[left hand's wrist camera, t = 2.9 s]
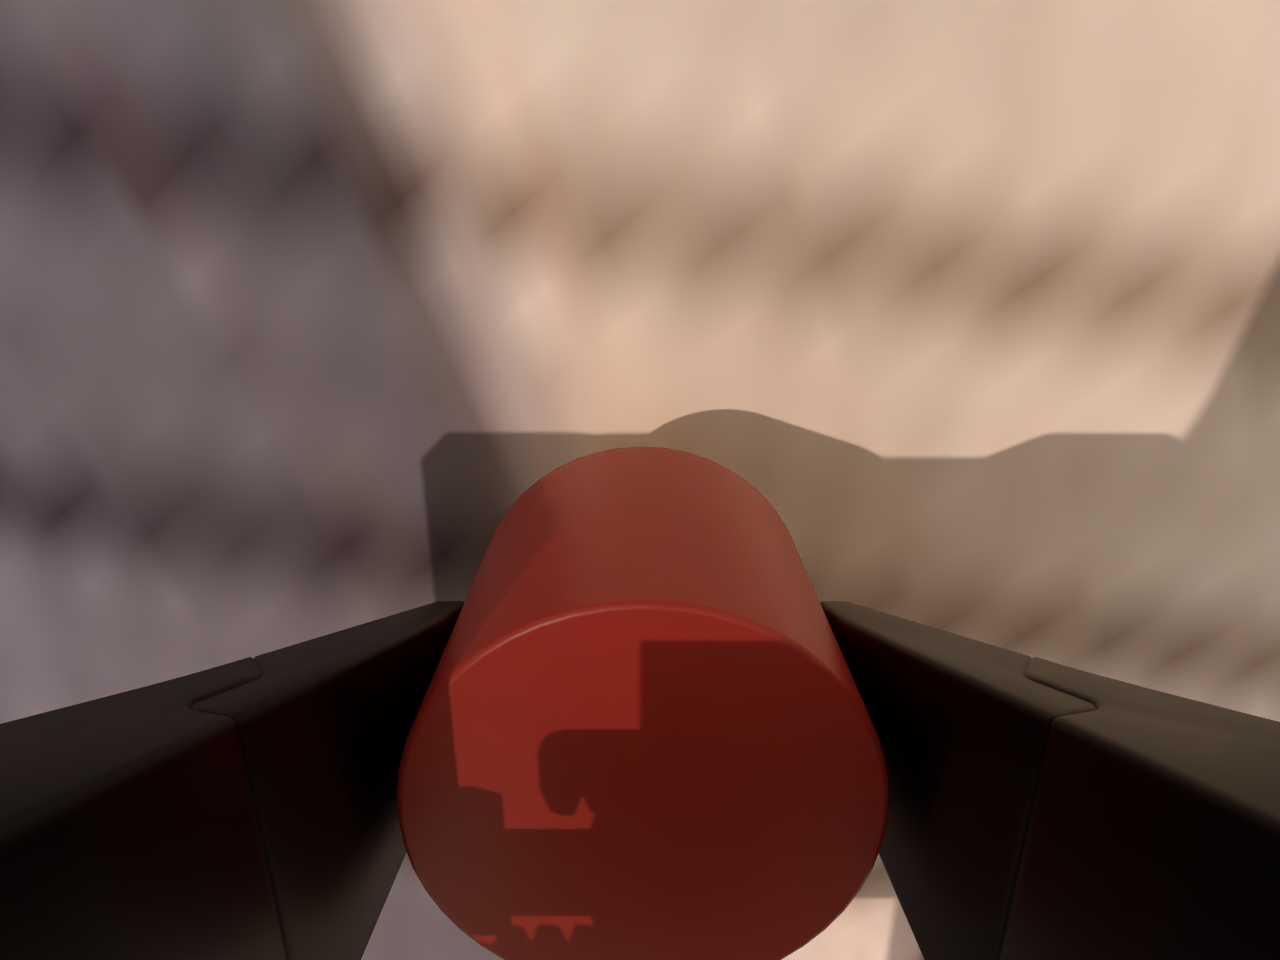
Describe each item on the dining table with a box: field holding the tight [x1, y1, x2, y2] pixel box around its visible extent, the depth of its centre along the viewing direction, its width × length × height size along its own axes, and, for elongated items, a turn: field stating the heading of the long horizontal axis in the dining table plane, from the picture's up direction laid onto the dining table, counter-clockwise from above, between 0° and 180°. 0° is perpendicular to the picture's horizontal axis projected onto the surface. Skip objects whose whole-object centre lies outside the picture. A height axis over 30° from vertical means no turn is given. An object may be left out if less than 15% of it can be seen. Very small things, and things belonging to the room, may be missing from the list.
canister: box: [396, 447, 889, 960], centre depth 10 cm, size 5×5×5 cm
